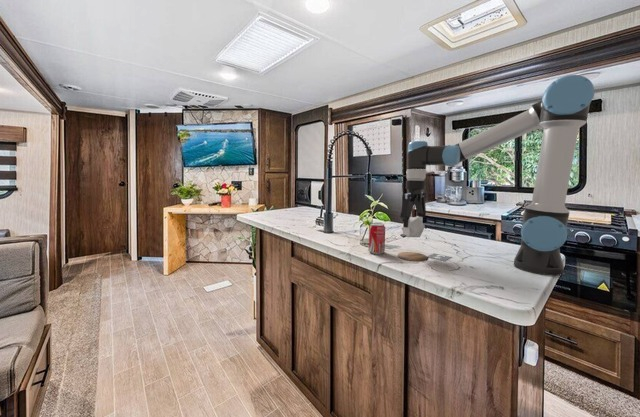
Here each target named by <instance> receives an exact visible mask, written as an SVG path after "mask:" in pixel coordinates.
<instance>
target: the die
mask: <svg viewBox="0 0 640 417" xmlns="http://www.w3.org/2000/svg"><path fill="white" fill-rule="evenodd" d="M409 219H410V220H411V222H410V235H409V236H408V235H405V236H406V237H407V238H421V237H422V233H423V232H424V230H425V228H426V226H425V224H424V222H423V223H422V221H421V220H420V219H419V217H416V216H414V217H413V216H410V218H409ZM400 229H401V231H403V224H402V225H401V227H400Z"/></svg>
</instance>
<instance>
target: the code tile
mask: <svg viewBox="0 0 640 417" xmlns="http://www.w3.org/2000/svg"><path fill="white" fill-rule="evenodd" d="M426 256H427V259H433V260H437V261H440V262H446V261H448V260H450V259H452V258H453V256H448V255H444V254H439V253H434V252H433V253H431V254H429V255H426Z"/></svg>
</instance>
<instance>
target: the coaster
mask: <svg viewBox="0 0 640 417" xmlns="http://www.w3.org/2000/svg"><path fill="white" fill-rule="evenodd" d="M427 256H428V255H425V254H423V253H420V252H413V251H404V252H403V251H402V252H401V251H400V252H398V253H397V258H399V259H401V260H404V261H410V262H423V261H427V259H428V258H427Z"/></svg>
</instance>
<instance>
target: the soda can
mask: <svg viewBox="0 0 640 417" xmlns="http://www.w3.org/2000/svg"><path fill="white" fill-rule="evenodd" d="M385 250H386V226H385V223H382V222H371V223H370V225H369V226H368V252H369V253H370V254H373V255H382V254H384V253H385Z"/></svg>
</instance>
